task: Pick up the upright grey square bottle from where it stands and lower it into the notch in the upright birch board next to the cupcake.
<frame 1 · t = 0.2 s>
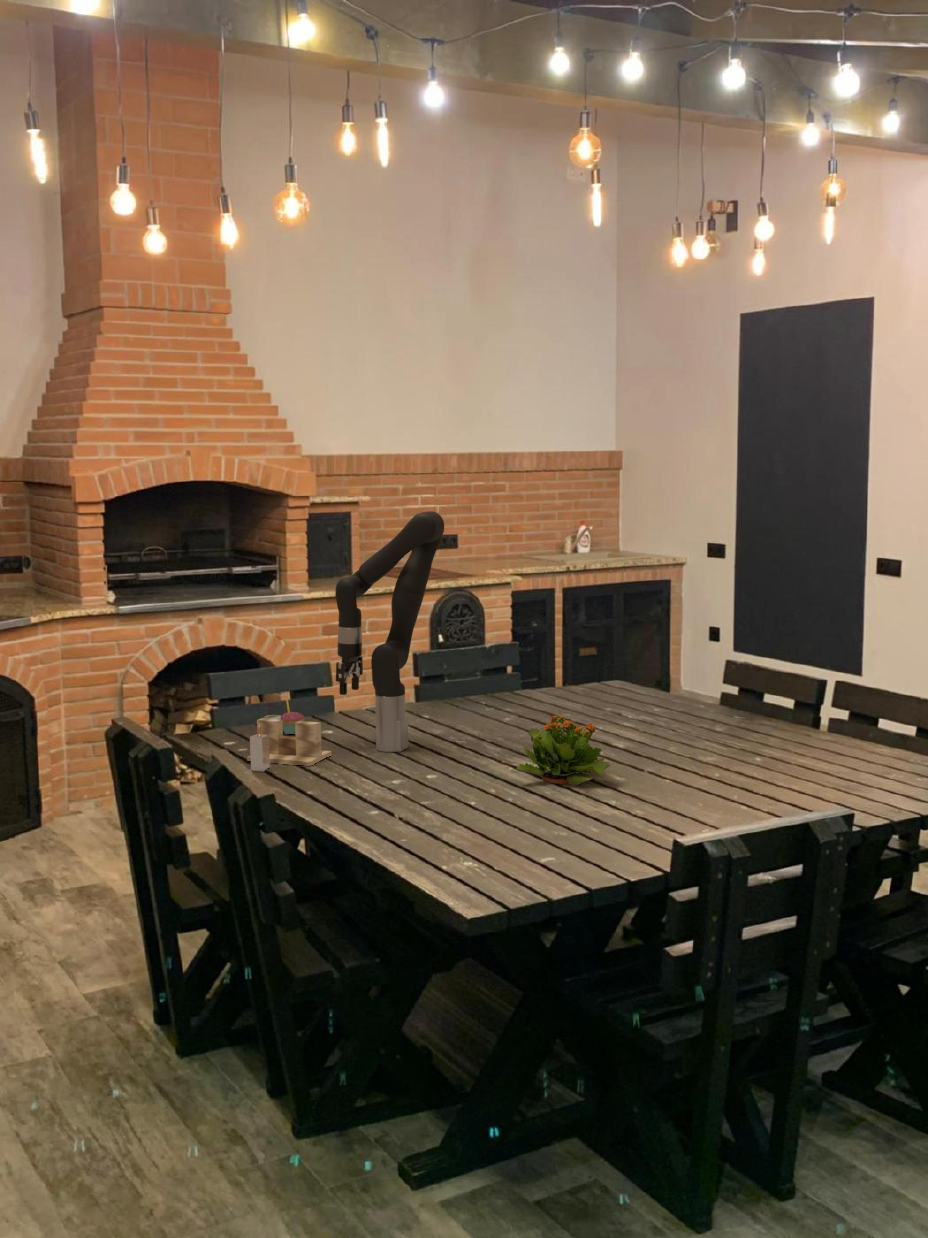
hand: (349, 692, 385), 17 cm above the table, tool pointing down, fingers open, 8 cm apart
cupcake: (292, 733, 406), on the table
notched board: (289, 758, 372), on the table
grey square bottle: (260, 769, 360), on the table
potted flower: (556, 780, 345), on the table
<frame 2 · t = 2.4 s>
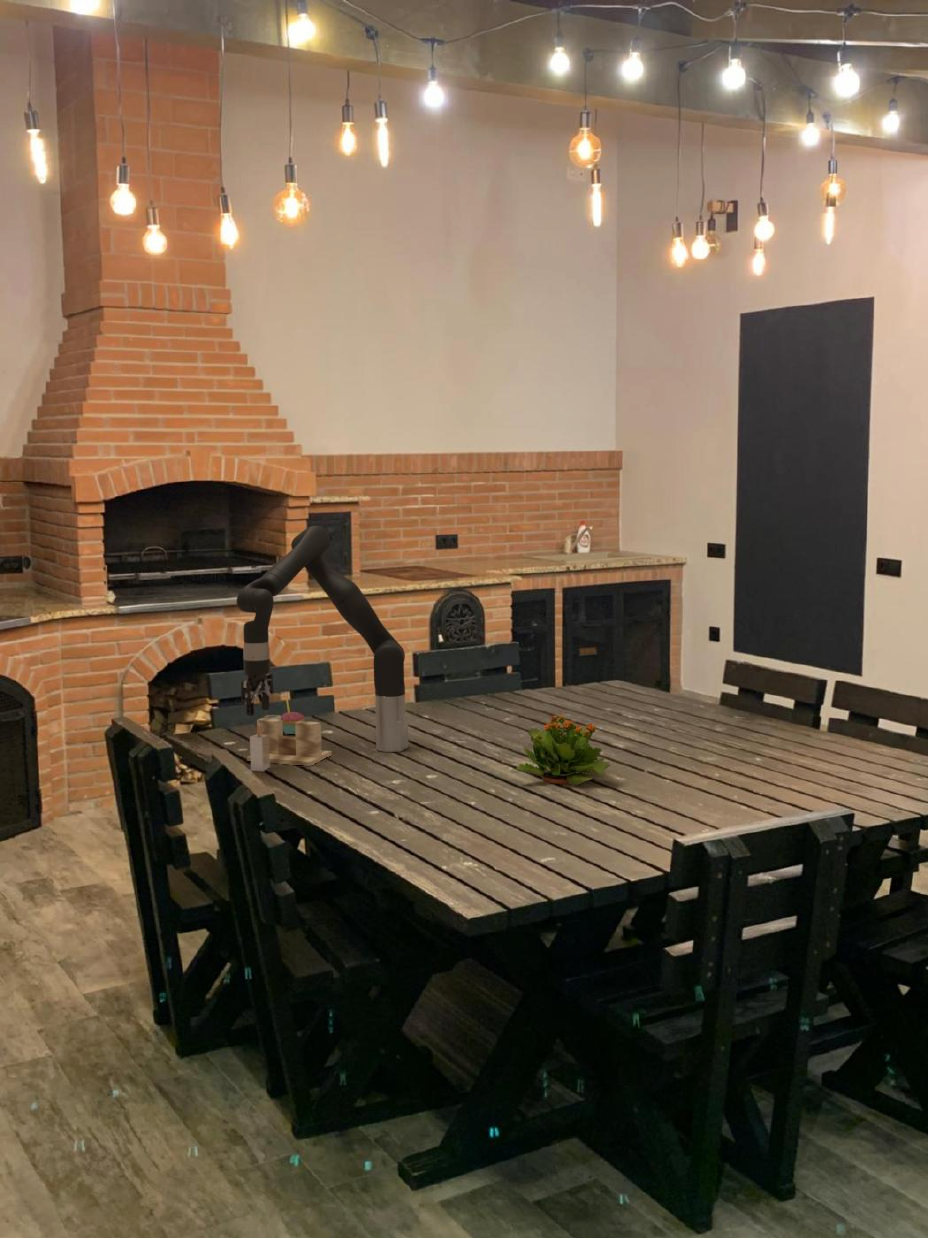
hand: (258, 712, 358), 17 cm above the table, tool pointing down, fingers open, 8 cm apart
nothing on the table moved.
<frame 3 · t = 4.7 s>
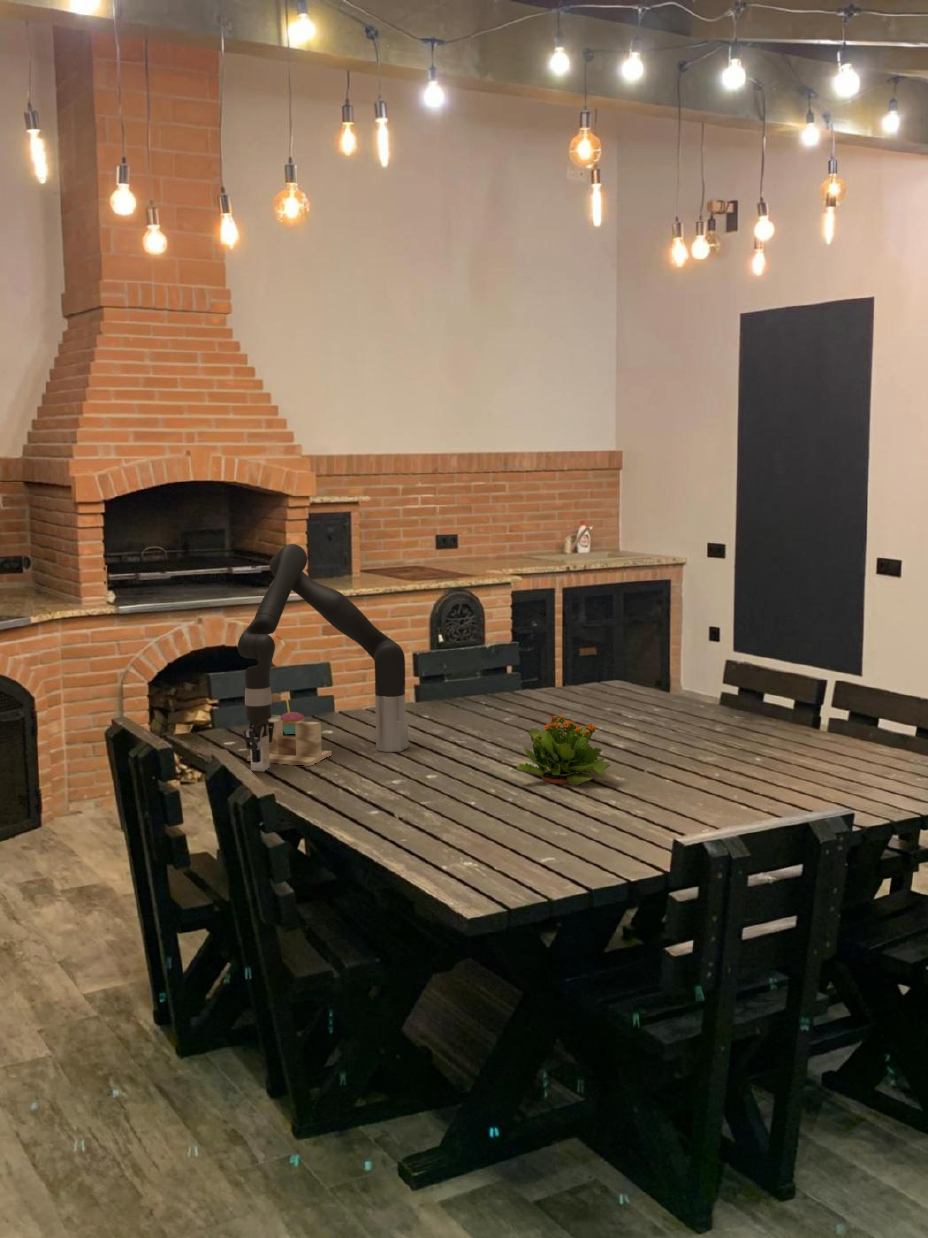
hand: (260, 760, 359), 3 cm above the table, tool pointing down, fingers closed on grey square bottle, 4 cm apart
grey square bottle: (260, 769, 360), on the table, touching gripper
everything else where it was.
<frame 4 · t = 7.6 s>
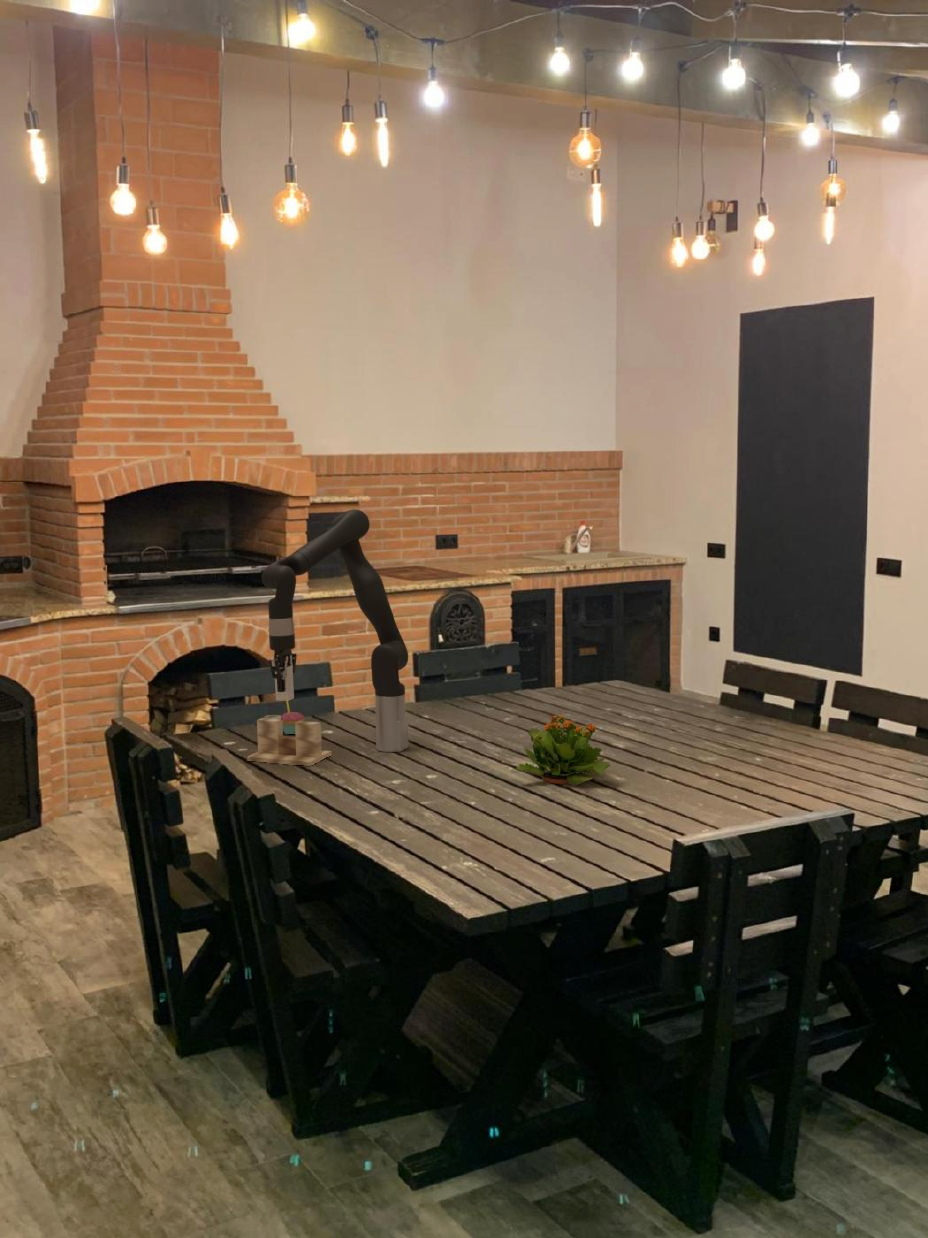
hand: (284, 690, 366), 22 cm above the table, tool pointing down, fingers closed on grey square bottle, 4 cm apart
grey square bottle: (285, 699, 366), point 19 cm above the table, touching gripper
everything else where it was.
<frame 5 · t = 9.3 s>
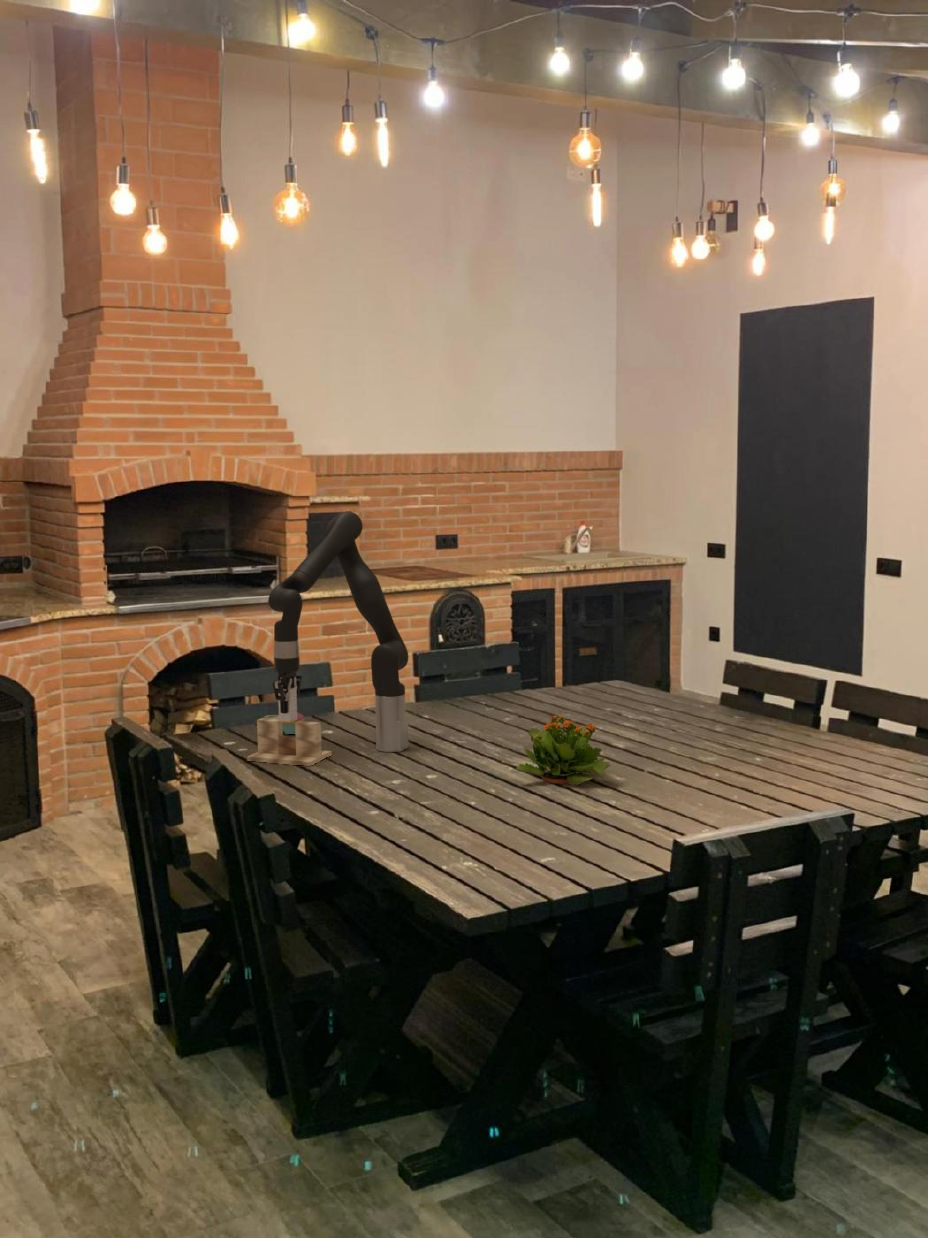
hand: (288, 711, 370), 14 cm above the table, tool pointing down, fingers closed on grey square bottle, 4 cm apart
grey square bottle: (288, 720, 371), point 12 cm above the table, touching gripper
everything else where it was.
when the fingers open (11 cm above the table, at t = 10.8 s): grey square bottle drops 1 cm, resting on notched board.
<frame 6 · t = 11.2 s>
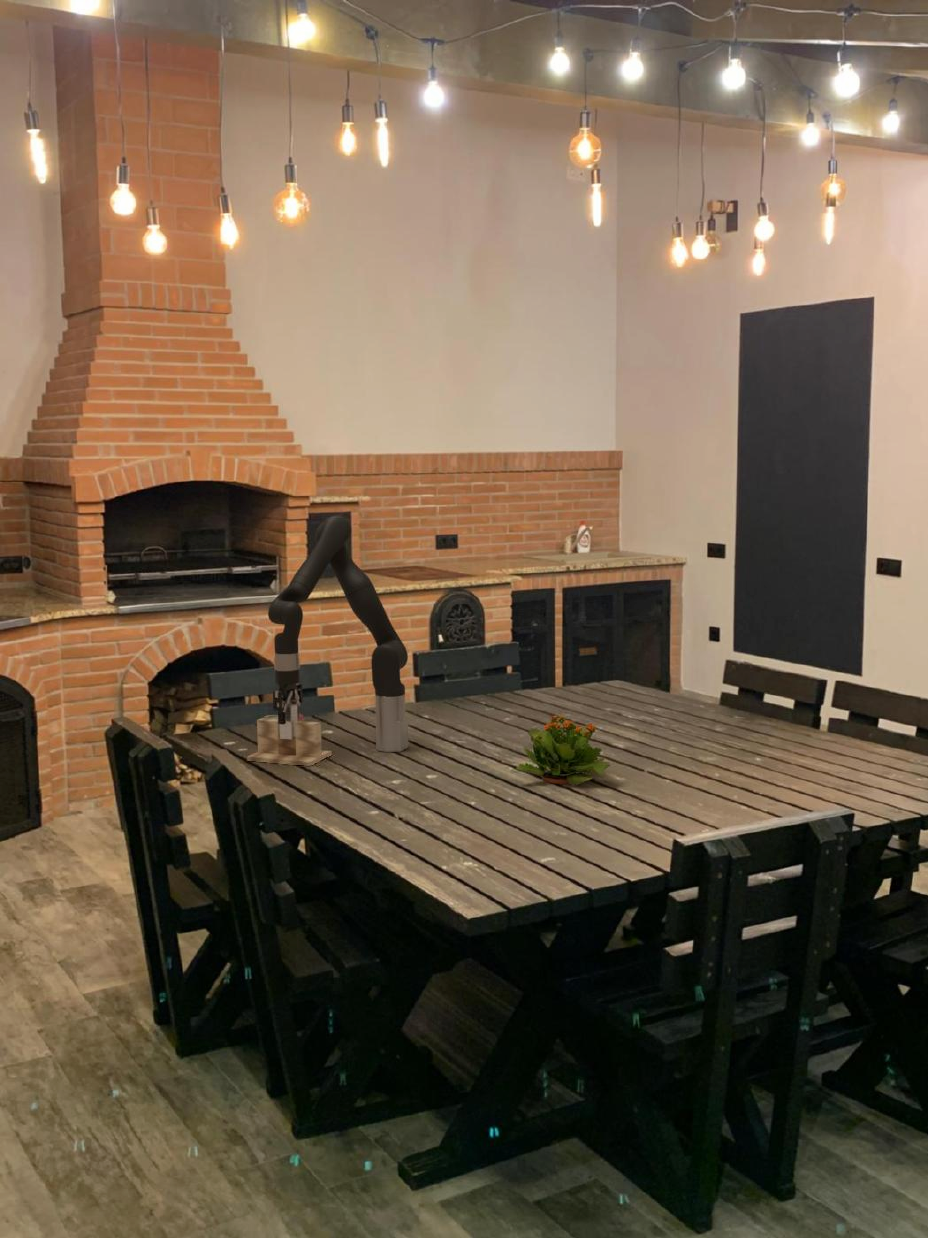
hand: (288, 721, 371), 11 cm above the table, tool pointing down, fingers open, 7 cm apart
grey square bottle: (289, 737, 371), point 6 cm above the table, touching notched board
everything else where it was.
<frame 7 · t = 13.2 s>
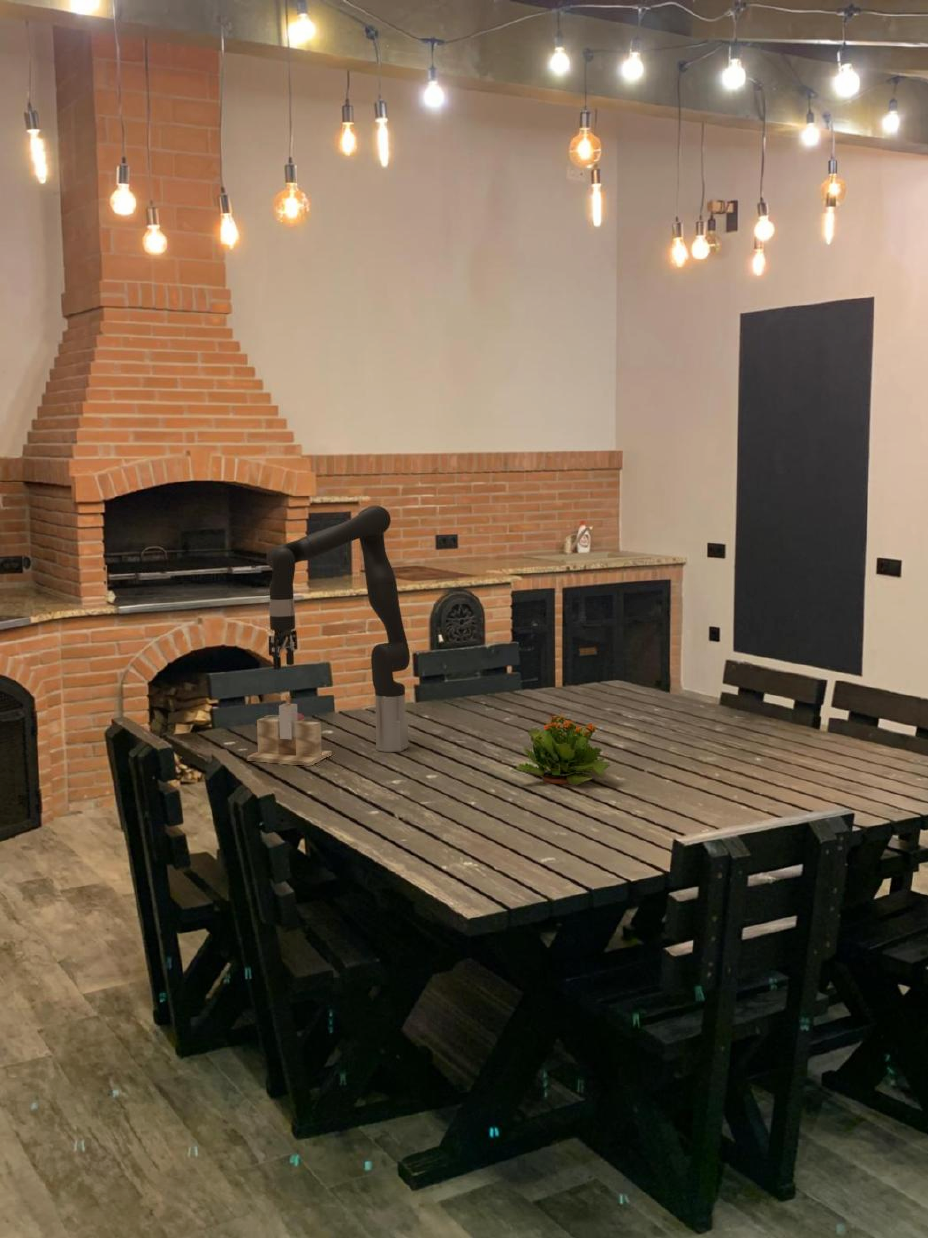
hand: (283, 667, 373), 27 cm above the table, tool pointing down, fingers open, 8 cm apart
nothing on the table moved.
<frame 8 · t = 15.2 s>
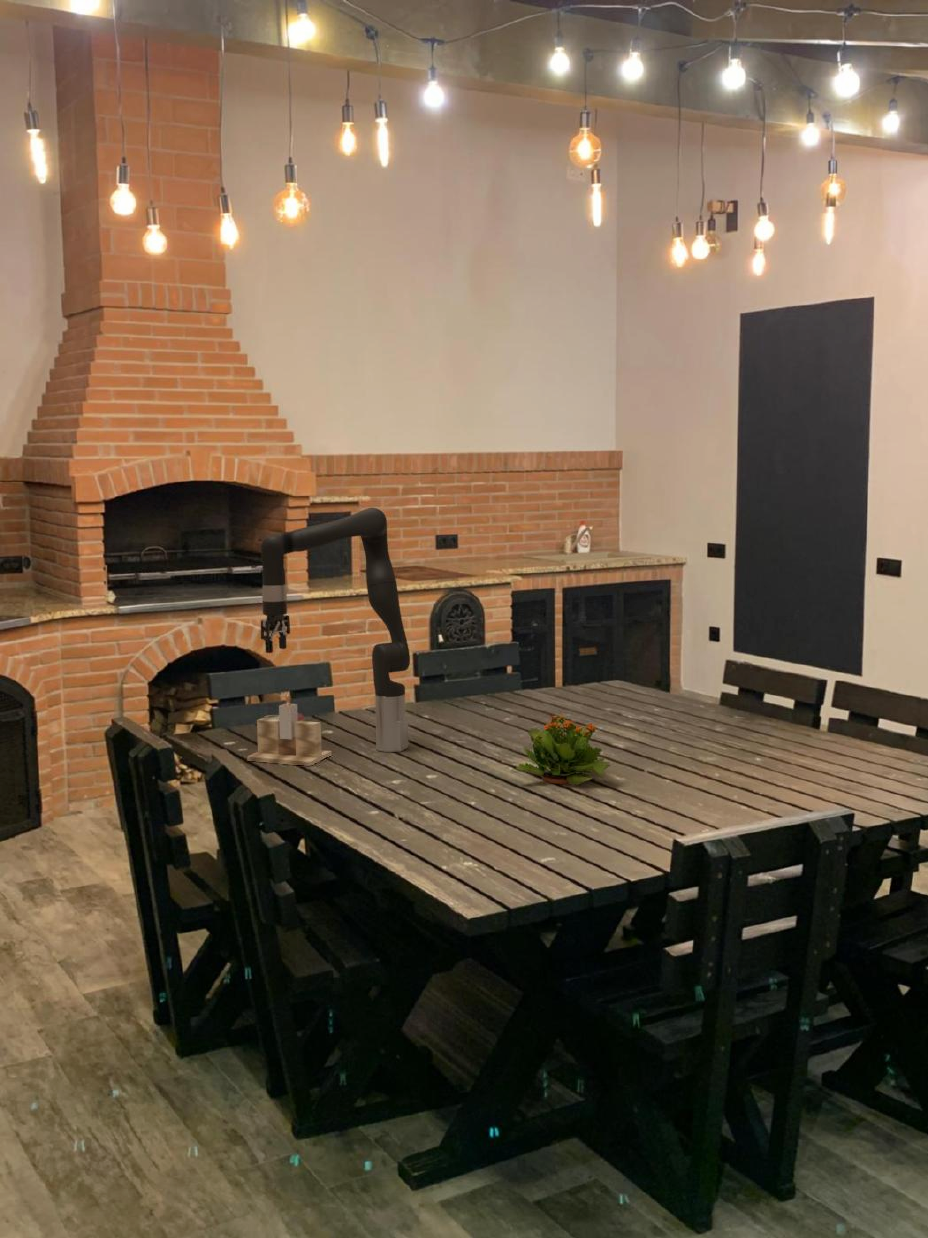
hand: (276, 650, 386), 30 cm above the table, tool pointing down, fingers open, 8 cm apart
nothing on the table moved.
at the end: grey square bottle 0.1 cm off-centre on the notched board, point 6.5 cm above the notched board's base; grey square bottle tilted 0°; the gripper is holding nothing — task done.
